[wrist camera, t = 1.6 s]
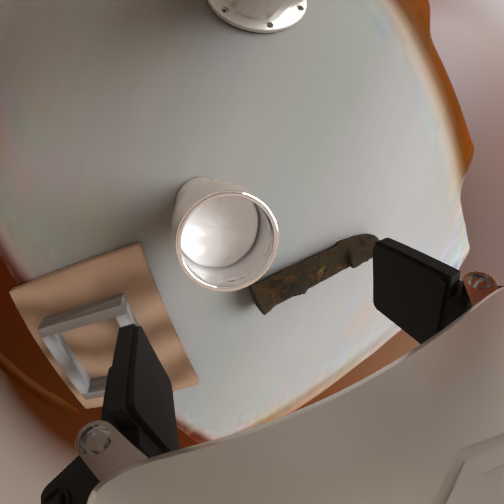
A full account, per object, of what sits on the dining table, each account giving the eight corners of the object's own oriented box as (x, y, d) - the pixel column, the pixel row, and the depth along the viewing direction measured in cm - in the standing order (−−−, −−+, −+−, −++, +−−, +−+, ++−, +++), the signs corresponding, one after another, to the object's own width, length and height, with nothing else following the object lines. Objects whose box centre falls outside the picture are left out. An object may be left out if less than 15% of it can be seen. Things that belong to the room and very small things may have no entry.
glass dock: (12, 288, 27) (-1, 302, 23) (139, 241, 30) (135, 254, 27) (86, 403, 35) (83, 422, 31) (198, 378, 39) (202, 398, 35)
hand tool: (253, 305, 37) (264, 323, 33) (244, 280, 36) (254, 296, 32) (369, 250, 40) (389, 260, 36) (366, 225, 38) (387, 234, 34)
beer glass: (163, 225, 31) (159, 282, 17) (182, 164, 29) (192, 171, 15) (221, 241, 33) (260, 303, 19) (241, 183, 31) (298, 207, 18)
